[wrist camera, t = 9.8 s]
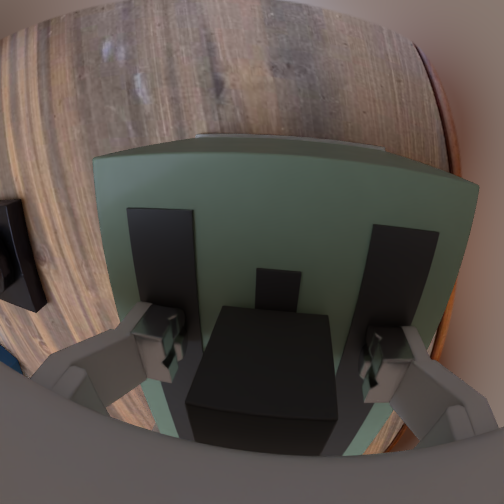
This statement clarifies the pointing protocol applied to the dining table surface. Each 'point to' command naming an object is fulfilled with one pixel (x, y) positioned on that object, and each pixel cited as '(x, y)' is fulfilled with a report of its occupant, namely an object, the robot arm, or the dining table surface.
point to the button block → (18, 260)
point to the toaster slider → (265, 383)
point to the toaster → (282, 248)
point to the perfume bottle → (9, 360)
